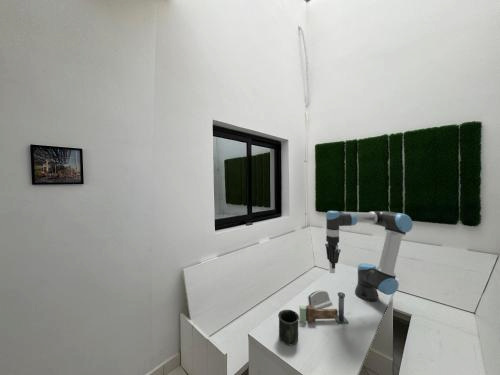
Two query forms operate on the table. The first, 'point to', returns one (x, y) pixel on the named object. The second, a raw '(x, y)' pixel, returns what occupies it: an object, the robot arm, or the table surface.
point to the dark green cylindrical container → (288, 326)
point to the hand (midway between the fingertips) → (332, 272)
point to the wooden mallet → (320, 314)
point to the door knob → (341, 310)
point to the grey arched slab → (319, 299)
